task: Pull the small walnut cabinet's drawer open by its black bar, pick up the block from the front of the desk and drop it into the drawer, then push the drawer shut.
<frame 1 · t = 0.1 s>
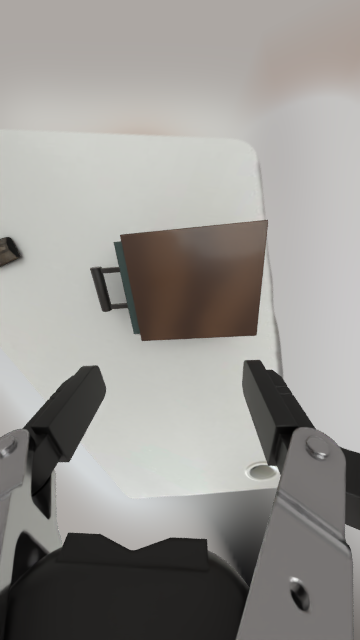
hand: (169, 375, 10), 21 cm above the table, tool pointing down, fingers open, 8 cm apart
drawer: (163, 283, 25), point 5 cm above the table, slide at 0.0 cm
cabinet: (193, 275, 28), on the table
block: (4, 251, 29), on the table
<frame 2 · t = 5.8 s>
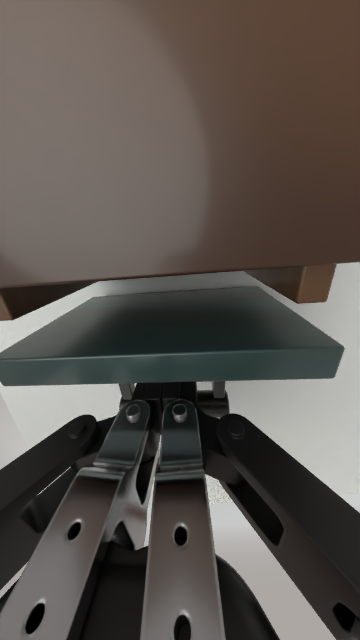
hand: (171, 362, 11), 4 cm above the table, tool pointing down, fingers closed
drawer: (157, 243, 8), point 5 cm above the table, slide at 2.5 cm, touching gripper
cabinet: (154, 97, 9), on the table
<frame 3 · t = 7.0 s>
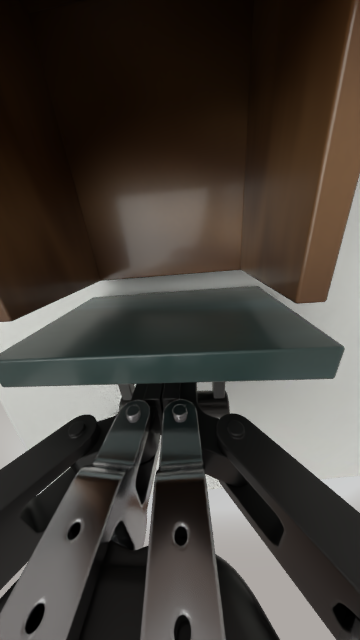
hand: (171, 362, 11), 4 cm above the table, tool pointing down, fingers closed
drawer: (156, 243, 8), point 5 cm above the table, slide at 6.9 cm, touching gripper
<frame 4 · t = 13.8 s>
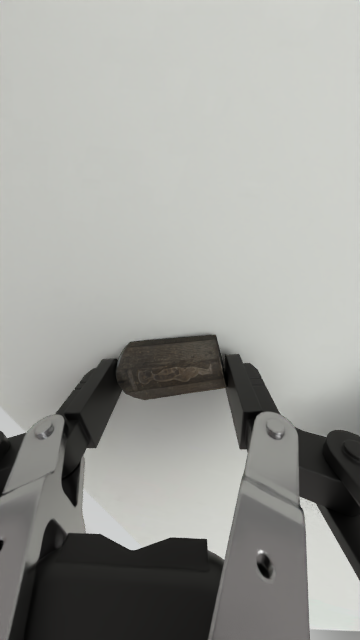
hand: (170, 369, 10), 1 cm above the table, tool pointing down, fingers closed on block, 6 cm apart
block: (170, 356, 11), on the table, touching gripper
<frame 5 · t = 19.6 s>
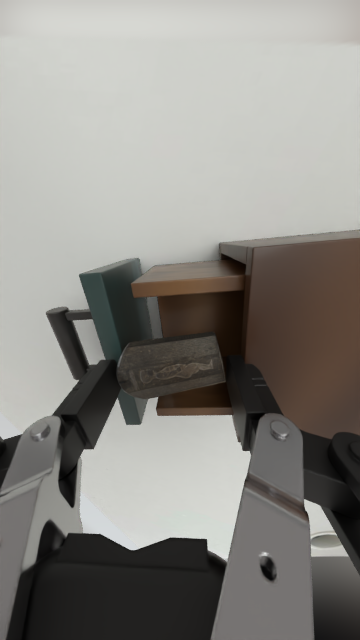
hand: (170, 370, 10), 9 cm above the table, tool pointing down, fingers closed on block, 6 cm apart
drawer: (178, 334, 14), point 5 cm above the table, slide at 7.0 cm, touching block
cabinet: (294, 305, 17), on the table
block: (170, 355, 11), point 8 cm above the table, touching drawer, gripper
when the fingers open (9 cm above the table, at t = 19.6 s): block drops 3 cm, resting on drawer.
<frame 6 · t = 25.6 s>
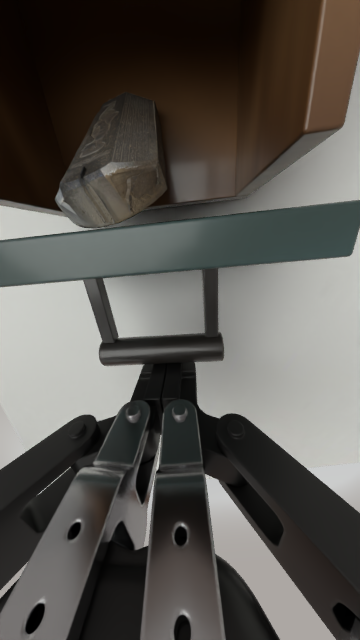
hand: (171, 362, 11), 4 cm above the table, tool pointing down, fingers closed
drawer: (133, 135, 6), point 5 cm above the table, slide at 5.0 cm, touching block, gripper
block: (126, 189, 7), point 4 cm above the table, touching drawer
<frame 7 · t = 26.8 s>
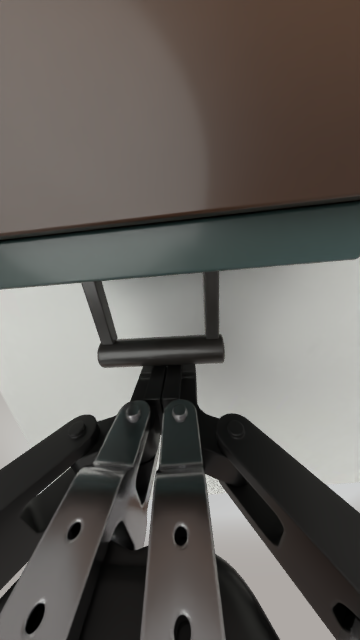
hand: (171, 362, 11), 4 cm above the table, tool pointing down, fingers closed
drawer: (131, 131, 6), point 5 cm above the table, slide at 0.0 cm, touching cabinet, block, gripper
cabinet: (141, 62, 8), on the table
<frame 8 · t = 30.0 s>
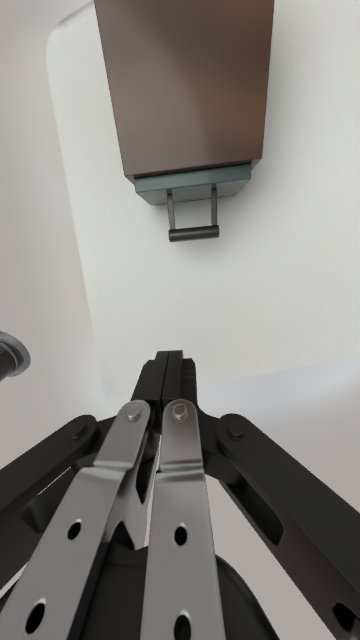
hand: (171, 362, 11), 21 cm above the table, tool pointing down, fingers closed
drawer: (189, 146, 19), point 5 cm above the table, slide at 0.0 cm, touching cabinet, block
cabinet: (187, 118, 21), on the table
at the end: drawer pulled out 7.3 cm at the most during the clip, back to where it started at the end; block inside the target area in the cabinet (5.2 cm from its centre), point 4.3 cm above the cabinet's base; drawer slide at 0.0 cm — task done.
